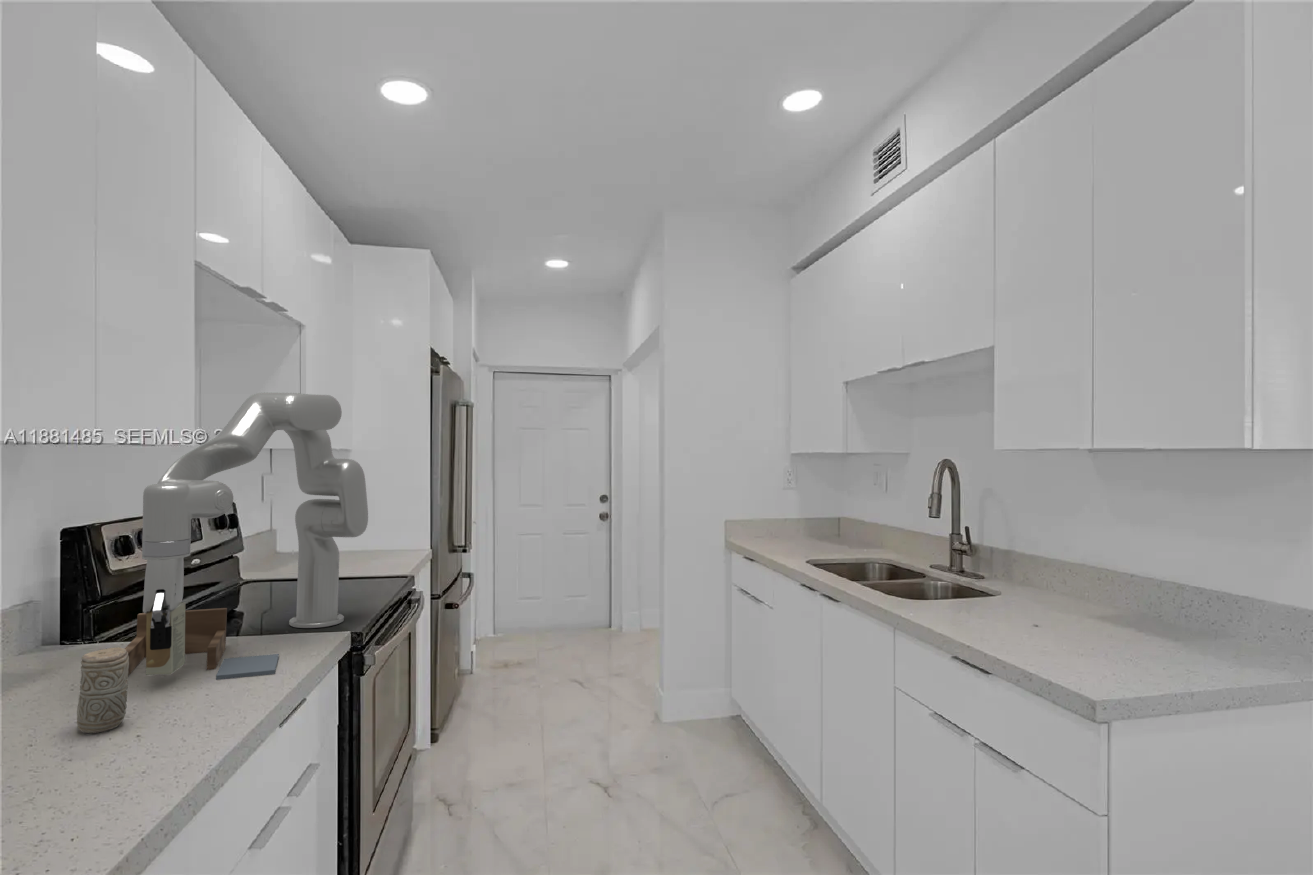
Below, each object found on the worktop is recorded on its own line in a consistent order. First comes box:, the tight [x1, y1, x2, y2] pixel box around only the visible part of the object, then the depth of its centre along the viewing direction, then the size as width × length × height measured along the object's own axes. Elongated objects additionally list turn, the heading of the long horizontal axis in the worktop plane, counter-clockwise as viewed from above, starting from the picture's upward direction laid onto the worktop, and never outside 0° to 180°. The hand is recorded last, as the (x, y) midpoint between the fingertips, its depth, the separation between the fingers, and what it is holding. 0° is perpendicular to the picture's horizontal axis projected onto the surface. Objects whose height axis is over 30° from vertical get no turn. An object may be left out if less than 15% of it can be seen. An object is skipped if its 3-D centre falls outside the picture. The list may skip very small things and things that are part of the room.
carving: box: [76, 647, 129, 734], centre depth 112 cm, size 6×8×12 cm
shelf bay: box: [124, 607, 228, 677], centre depth 145 cm, size 16×16×9 cm
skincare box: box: [145, 601, 186, 676], centre depth 133 cm, size 6×4×12 cm
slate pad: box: [215, 653, 280, 681], centre depth 143 cm, size 12×10×1 cm
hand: (165, 642), depth 133 cm, fingers closed on skincare box, 6 cm apart
